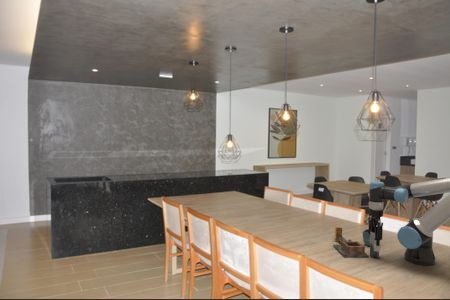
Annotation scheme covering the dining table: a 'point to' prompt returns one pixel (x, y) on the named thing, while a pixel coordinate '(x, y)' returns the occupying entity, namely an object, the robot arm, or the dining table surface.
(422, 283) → the dining table surface
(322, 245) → the dining table surface
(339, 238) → the lock pin
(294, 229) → the dining table surface
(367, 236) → the flower pot
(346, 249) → the dock
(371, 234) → the grey metal cylinder
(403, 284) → the dining table surface
